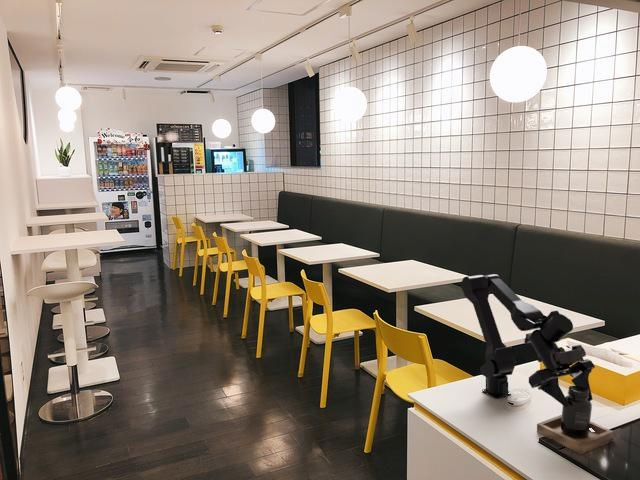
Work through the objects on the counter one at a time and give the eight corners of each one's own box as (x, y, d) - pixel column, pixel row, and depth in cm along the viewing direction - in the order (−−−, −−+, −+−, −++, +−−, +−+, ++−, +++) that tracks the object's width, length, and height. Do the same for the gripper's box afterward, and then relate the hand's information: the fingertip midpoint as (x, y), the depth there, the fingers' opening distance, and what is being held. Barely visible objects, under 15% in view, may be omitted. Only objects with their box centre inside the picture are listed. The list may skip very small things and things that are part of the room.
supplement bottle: (590, 431, 136) (596, 389, 135) (585, 441, 131) (591, 396, 130) (563, 423, 141) (568, 381, 139) (557, 432, 135) (562, 388, 134)
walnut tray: (536, 432, 139) (537, 423, 138) (568, 420, 144) (569, 411, 144) (580, 454, 127) (580, 445, 127) (613, 440, 133) (613, 431, 133)
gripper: (537, 341, 133) (571, 398, 124) (590, 330, 139) (625, 384, 131) (515, 360, 141) (545, 415, 132) (566, 349, 148) (598, 401, 139)
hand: (579, 403), depth 133 cm, fingers open, 8 cm apart
